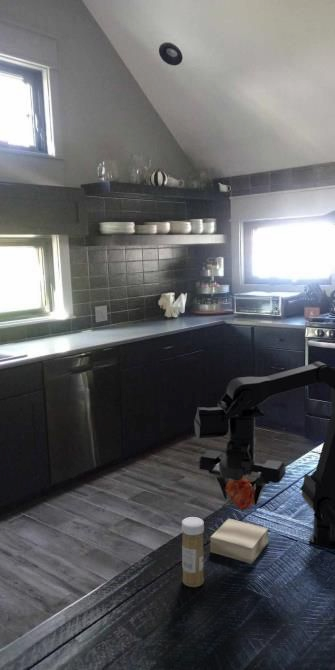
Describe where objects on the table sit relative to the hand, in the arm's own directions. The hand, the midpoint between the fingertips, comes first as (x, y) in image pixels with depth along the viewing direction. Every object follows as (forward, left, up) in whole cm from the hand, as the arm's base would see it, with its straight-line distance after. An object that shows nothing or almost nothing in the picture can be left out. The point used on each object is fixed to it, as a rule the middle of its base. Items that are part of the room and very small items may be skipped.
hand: (241, 501), depth 129 cm
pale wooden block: (0, 0, -12) cm, 12 cm away
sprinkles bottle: (+17, -4, -12) cm, 21 cm away
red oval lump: (0, 0, -2) cm, 2 cm away
